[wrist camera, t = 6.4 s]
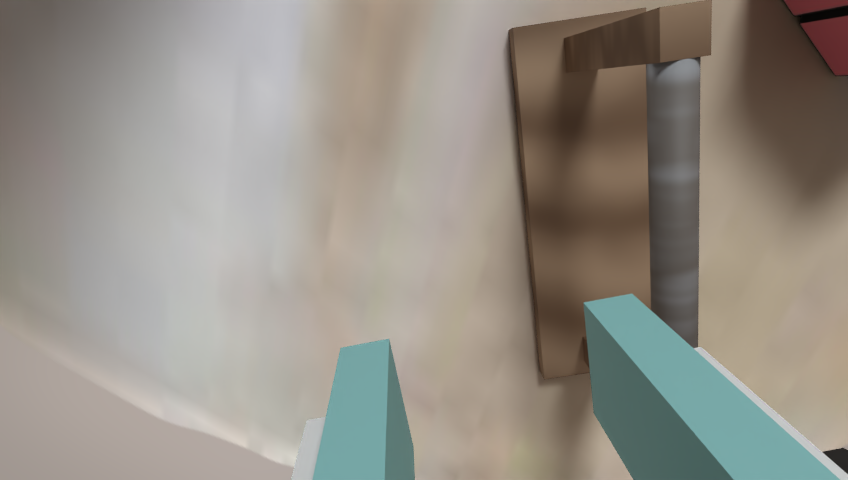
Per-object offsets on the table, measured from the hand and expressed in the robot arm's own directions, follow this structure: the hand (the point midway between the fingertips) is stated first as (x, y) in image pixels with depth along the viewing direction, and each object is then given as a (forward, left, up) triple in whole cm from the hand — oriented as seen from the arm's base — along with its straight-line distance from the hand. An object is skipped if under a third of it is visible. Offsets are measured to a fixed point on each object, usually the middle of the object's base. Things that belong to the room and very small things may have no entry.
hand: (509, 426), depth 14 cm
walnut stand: (0, +10, -22) cm, 24 cm away
